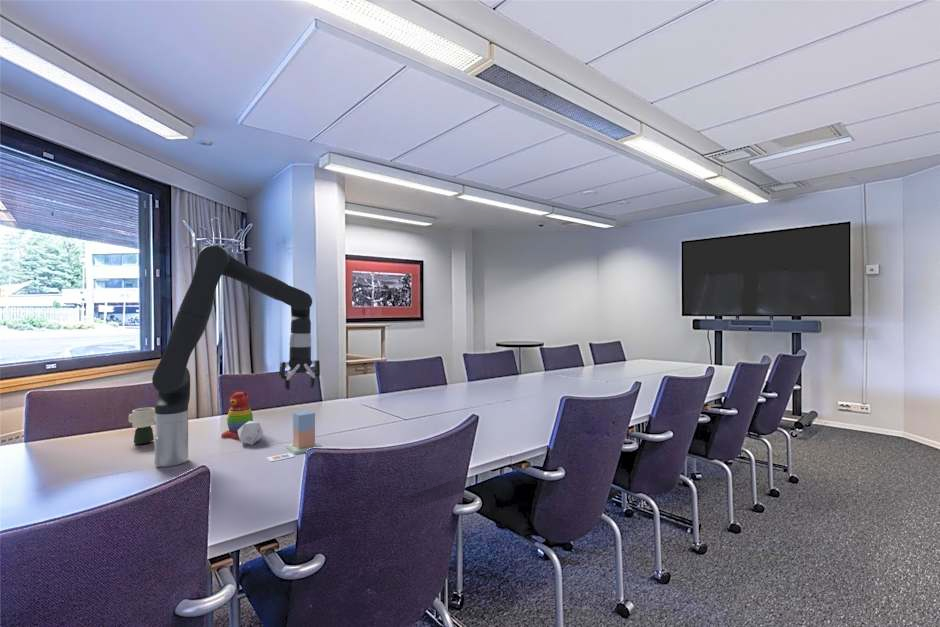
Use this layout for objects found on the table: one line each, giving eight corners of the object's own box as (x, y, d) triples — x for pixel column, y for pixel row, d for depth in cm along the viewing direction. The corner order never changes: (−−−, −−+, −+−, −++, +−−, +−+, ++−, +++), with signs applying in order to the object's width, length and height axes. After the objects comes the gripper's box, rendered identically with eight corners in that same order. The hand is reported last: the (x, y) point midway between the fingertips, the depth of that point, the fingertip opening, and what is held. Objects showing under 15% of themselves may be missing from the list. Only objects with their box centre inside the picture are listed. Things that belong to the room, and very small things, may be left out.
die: (238, 449, 166) (255, 428, 166) (228, 434, 170) (244, 413, 171) (256, 451, 173) (272, 431, 173) (246, 436, 178) (262, 416, 178)
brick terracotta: (298, 448, 162) (298, 432, 162) (293, 444, 166) (293, 428, 166) (315, 445, 166) (315, 429, 166) (309, 441, 170) (309, 425, 170)
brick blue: (298, 431, 162) (298, 415, 162) (293, 428, 166) (293, 412, 166) (314, 429, 166) (314, 413, 166) (309, 425, 170) (309, 410, 170)
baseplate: (294, 454, 159) (294, 450, 159) (286, 447, 167) (286, 444, 167) (322, 448, 165) (322, 445, 165) (312, 442, 173) (312, 439, 173)
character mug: (164, 440, 175) (164, 407, 175) (152, 445, 168) (152, 411, 168) (135, 440, 174) (135, 407, 174) (122, 446, 167) (122, 411, 167)
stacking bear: (218, 437, 179) (218, 393, 179) (238, 430, 189) (238, 389, 188) (240, 440, 176) (240, 395, 176) (259, 433, 185) (259, 390, 185)
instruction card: (270, 461, 151) (270, 461, 151) (266, 457, 155) (266, 457, 155) (294, 457, 156) (294, 456, 156) (290, 453, 160) (290, 452, 160)
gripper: (283, 346, 159) (282, 392, 159) (323, 345, 168) (322, 388, 168) (277, 345, 164) (276, 389, 164) (315, 344, 173) (315, 385, 173)
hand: (299, 388), depth 166 cm, fingers open, 8 cm apart
